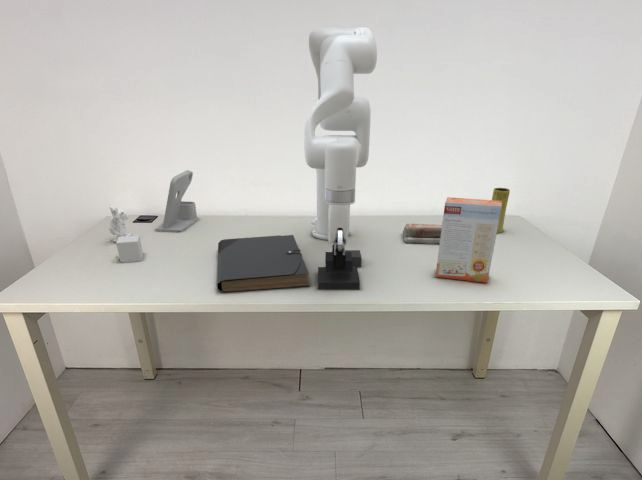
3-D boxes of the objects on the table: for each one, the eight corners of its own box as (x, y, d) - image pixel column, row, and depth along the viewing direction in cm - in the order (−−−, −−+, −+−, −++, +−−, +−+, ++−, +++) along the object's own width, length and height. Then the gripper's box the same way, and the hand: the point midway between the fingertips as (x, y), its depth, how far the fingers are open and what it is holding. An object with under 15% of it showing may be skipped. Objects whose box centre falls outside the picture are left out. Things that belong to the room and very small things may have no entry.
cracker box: (488, 276, 132) (503, 200, 121) (487, 284, 127) (502, 205, 116) (437, 269, 135) (447, 195, 125) (434, 277, 131) (445, 200, 120)
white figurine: (130, 244, 154) (122, 207, 148) (108, 245, 153) (99, 208, 147) (134, 236, 161) (127, 201, 155) (114, 237, 160) (105, 201, 154)
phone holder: (174, 217, 181) (166, 168, 172) (200, 218, 180) (193, 169, 171) (155, 230, 166) (145, 177, 157) (182, 232, 165) (174, 178, 156)
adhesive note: (120, 262, 140) (115, 242, 137) (123, 255, 145) (118, 236, 142) (141, 260, 141) (137, 241, 138) (143, 254, 146) (139, 235, 143)
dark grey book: (309, 272, 123) (216, 279, 119) (310, 286, 125) (218, 294, 122) (293, 233, 151) (217, 238, 147) (294, 246, 153) (219, 251, 149)
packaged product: (405, 229, 153) (403, 220, 161) (404, 243, 155) (402, 234, 164) (462, 230, 152) (456, 221, 160) (459, 244, 154) (454, 235, 163)
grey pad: (340, 266, 137) (340, 257, 136) (339, 259, 142) (340, 250, 141) (361, 266, 137) (361, 257, 136) (359, 259, 142) (360, 250, 141)
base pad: (317, 289, 124) (317, 282, 122) (318, 273, 133) (318, 266, 132) (359, 289, 124) (360, 282, 123) (356, 273, 133) (357, 266, 132)
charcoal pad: (325, 271, 123) (325, 260, 121) (325, 262, 129) (325, 251, 127) (352, 271, 123) (352, 260, 121) (350, 262, 129) (351, 251, 127)
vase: (504, 229, 168) (513, 188, 161) (500, 234, 164) (508, 192, 156) (487, 227, 171) (495, 186, 164) (482, 231, 167) (490, 190, 159)
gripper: (324, 188, 124) (324, 252, 133) (325, 204, 109) (324, 276, 118) (353, 188, 124) (350, 252, 133) (357, 204, 109) (354, 276, 118)
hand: (338, 263), depth 125 cm, fingers closed on charcoal pad, 7 cm apart
